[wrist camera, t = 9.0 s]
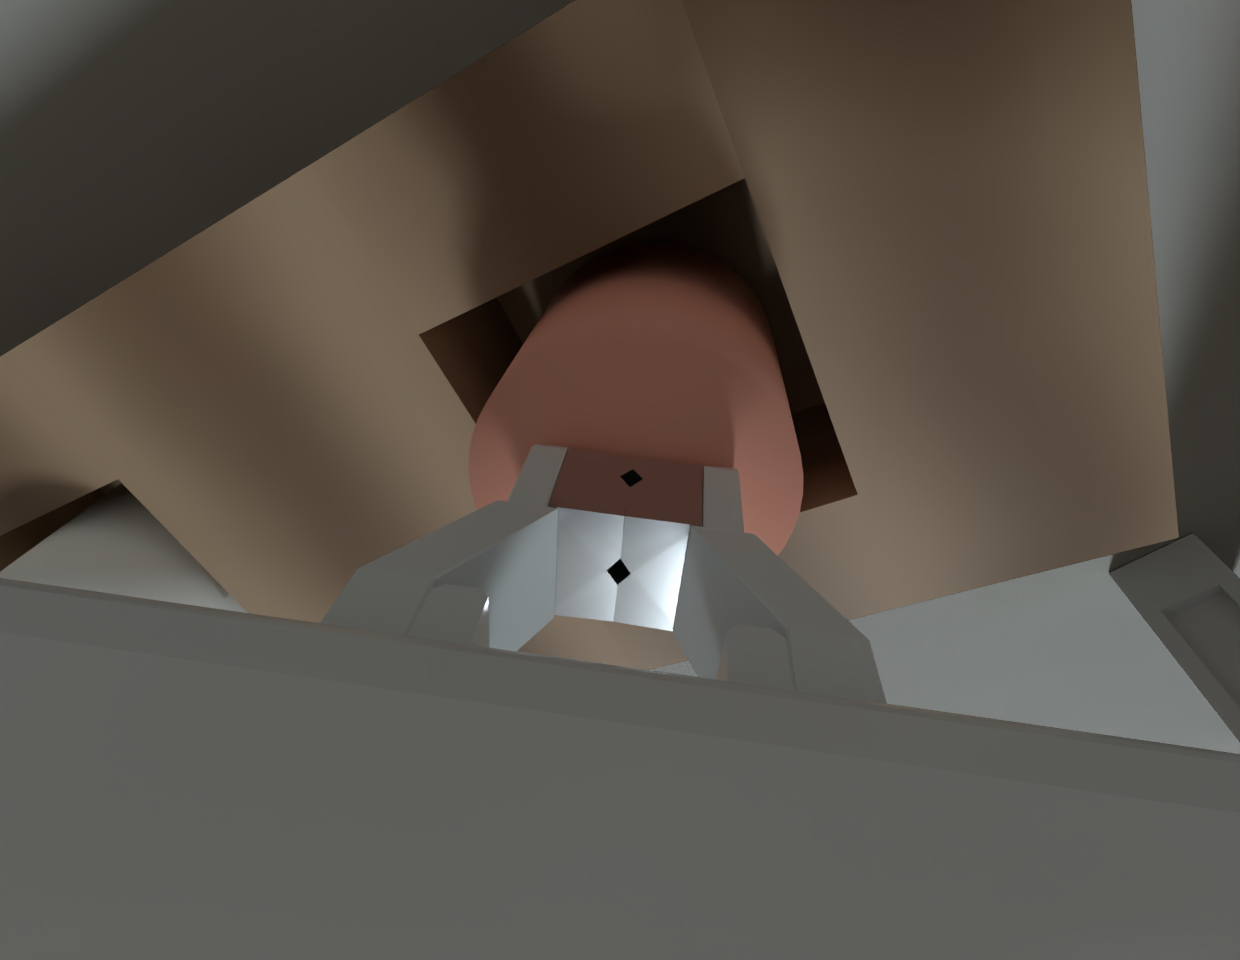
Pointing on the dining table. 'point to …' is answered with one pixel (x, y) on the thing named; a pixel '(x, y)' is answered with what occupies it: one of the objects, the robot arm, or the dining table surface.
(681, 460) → the terracotta plunger
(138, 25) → the dining table surface
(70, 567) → the white rounded piece
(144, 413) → the wooden block with holes
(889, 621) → the dining table surface
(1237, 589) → the stool
